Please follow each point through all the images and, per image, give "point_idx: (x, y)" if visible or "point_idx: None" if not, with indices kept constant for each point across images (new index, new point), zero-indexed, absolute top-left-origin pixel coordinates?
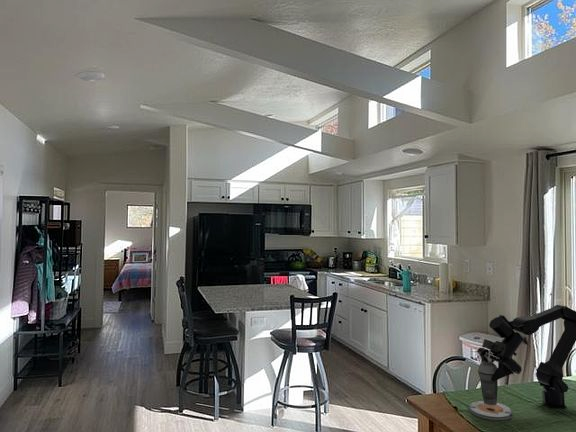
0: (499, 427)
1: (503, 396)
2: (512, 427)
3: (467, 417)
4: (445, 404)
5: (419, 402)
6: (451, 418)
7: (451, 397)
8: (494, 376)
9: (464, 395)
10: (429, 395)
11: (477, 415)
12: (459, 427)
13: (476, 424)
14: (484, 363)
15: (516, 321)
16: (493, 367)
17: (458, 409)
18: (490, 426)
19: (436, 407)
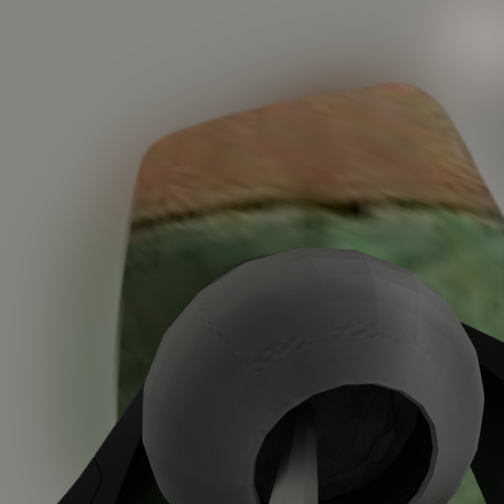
0: (117, 327)
1: (468, 478)
2: (116, 383)
3: (228, 226)
4: (381, 179)
5: (383, 97)
6: (222, 158)
7: (464, 234)
8: (128, 410)
9: (491, 304)
10: (464, 153)
11: (226, 272)
12: (139, 167)
13: (153, 239)
14: (266, 337)
15: None
16: (158, 482)
17: (326, 216)
18: (129, 292)
19: (341, 134)
